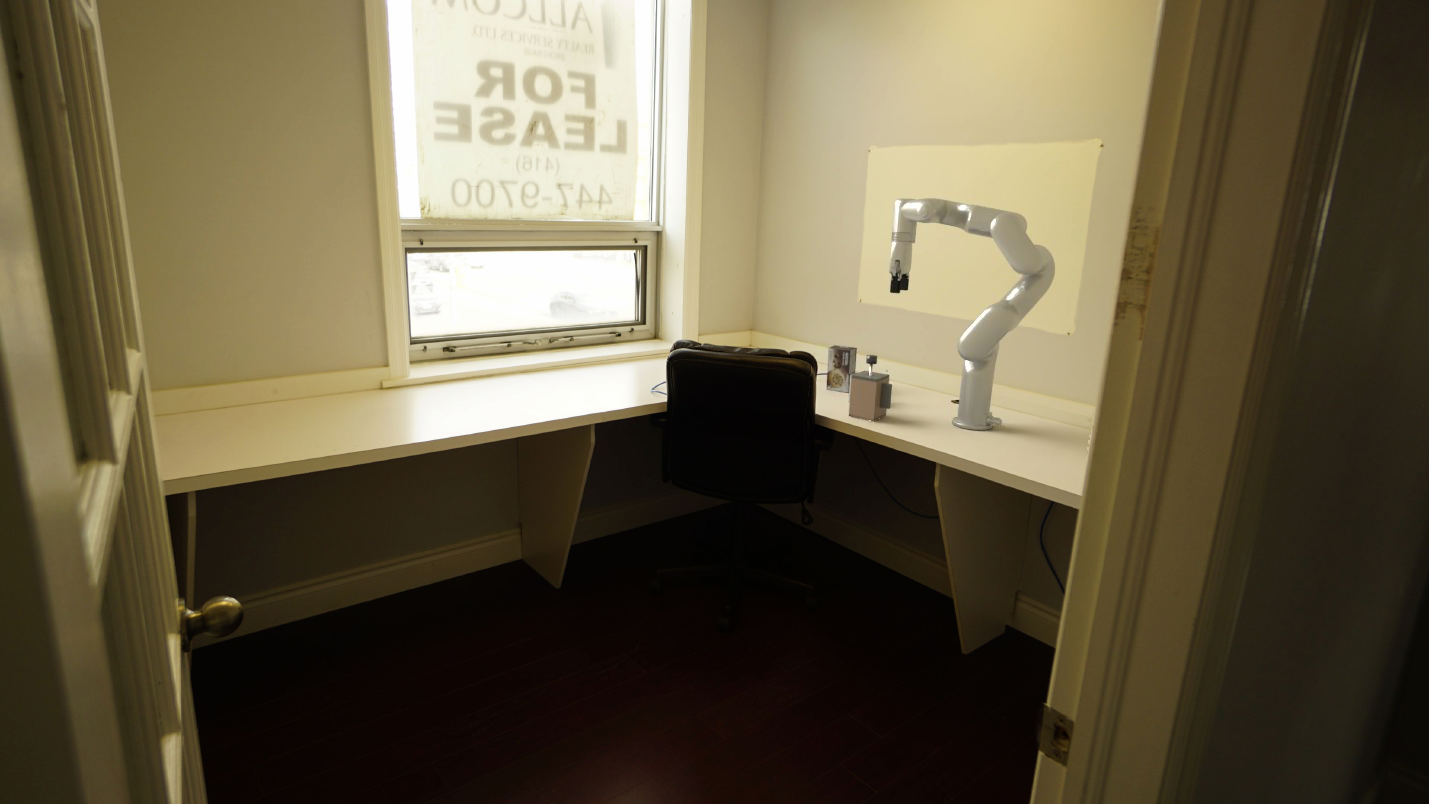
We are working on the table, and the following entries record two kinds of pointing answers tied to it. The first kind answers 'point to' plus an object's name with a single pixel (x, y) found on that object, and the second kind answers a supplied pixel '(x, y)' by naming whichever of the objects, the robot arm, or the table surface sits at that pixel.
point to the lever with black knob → (871, 362)
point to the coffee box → (840, 367)
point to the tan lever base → (869, 395)
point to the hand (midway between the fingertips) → (899, 291)
